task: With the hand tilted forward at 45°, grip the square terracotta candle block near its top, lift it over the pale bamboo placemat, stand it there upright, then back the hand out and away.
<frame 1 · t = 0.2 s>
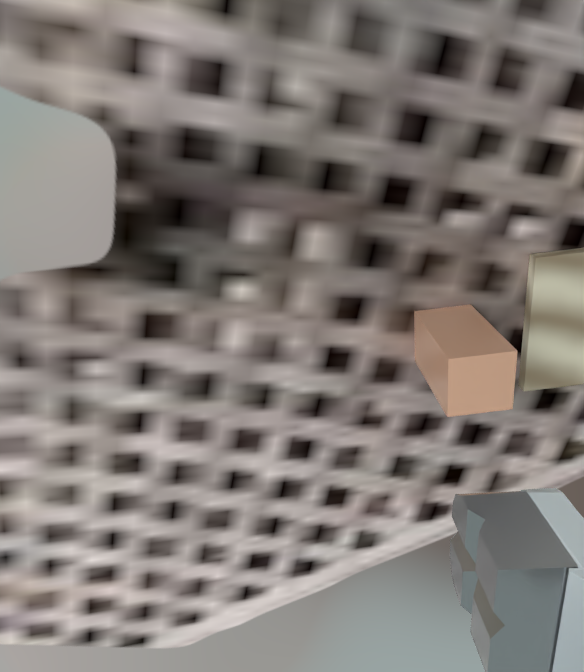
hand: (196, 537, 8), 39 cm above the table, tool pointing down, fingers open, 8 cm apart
terracotta candle block: (442, 333, 50), on the table
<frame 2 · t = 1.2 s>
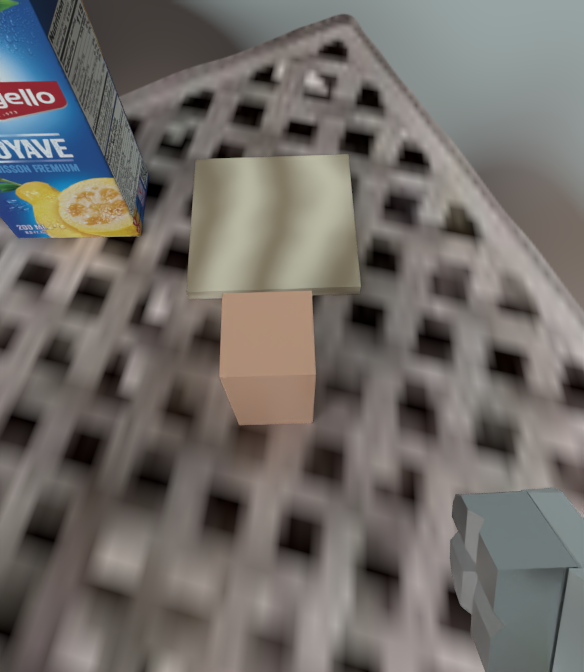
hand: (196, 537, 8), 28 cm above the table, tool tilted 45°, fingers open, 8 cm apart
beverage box: (86, 207, 47), on the table
terracotta candle block: (275, 389, 39), on the table
placemat: (273, 227, 45), on the table
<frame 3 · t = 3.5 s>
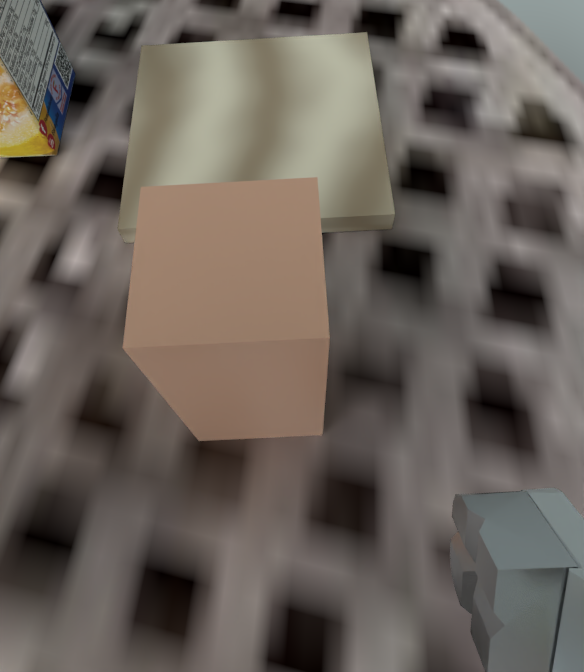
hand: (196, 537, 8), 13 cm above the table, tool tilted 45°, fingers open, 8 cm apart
terracotta candle block: (259, 379, 24), on the table
placemat: (256, 137, 30), on the table
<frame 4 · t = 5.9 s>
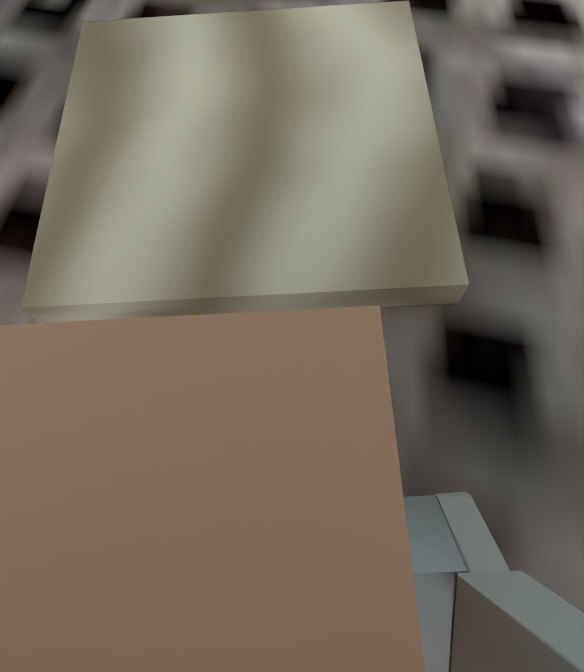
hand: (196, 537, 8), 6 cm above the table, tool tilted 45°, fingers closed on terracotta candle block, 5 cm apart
terracotta candle block: (246, 580, 14), on the table, touching gripper
placemat: (247, 155, 20), on the table
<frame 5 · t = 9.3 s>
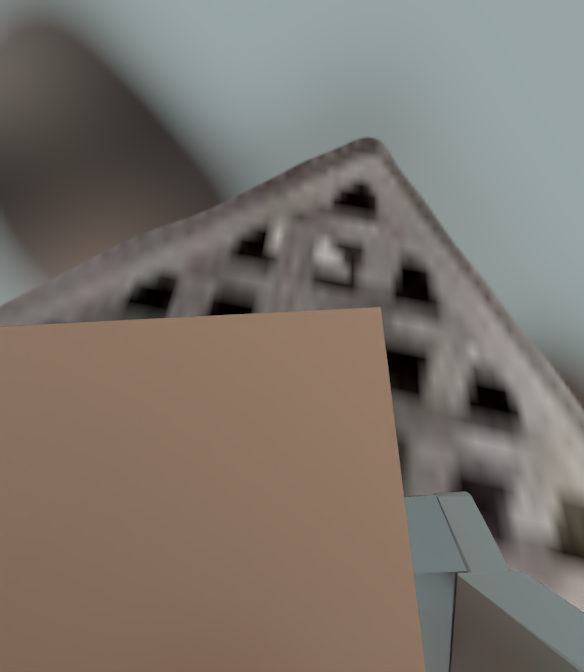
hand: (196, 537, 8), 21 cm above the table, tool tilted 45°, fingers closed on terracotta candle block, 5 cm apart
terracotta candle block: (246, 581, 14), point 14 cm above the table, touching gripper
when the fingers open (9 cm above the table, at t = 12.8 s): terracotta candle block drops 1 cm, resting on placemat.
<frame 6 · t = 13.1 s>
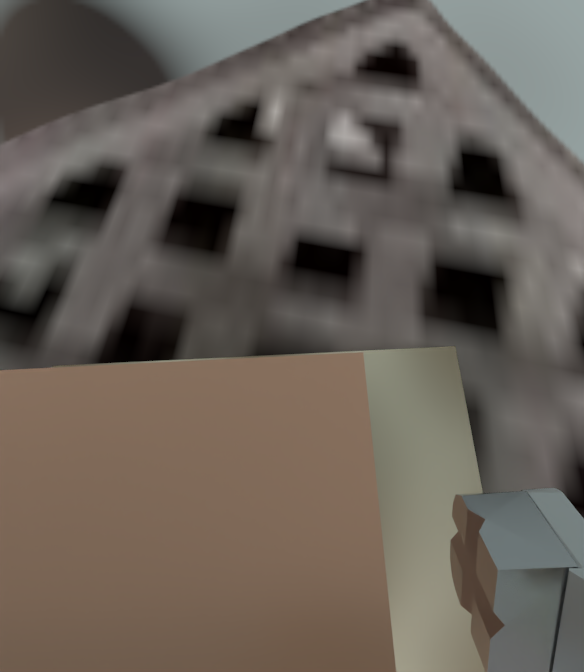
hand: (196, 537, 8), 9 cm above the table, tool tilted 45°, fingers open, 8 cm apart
terracotta candle block: (249, 581, 15), point 1 cm above the table, touching placemat
placemat: (256, 579, 16), on the table
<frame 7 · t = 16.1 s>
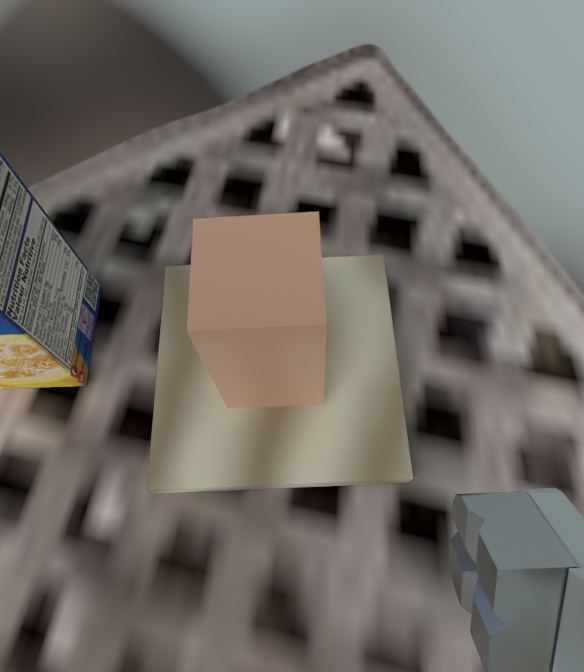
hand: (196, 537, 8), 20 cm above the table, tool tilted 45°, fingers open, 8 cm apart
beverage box: (12, 339, 33), on the table
terracotta candle block: (274, 361, 30), point 1 cm above the table, touching placemat
placemat: (277, 368, 31), on the table
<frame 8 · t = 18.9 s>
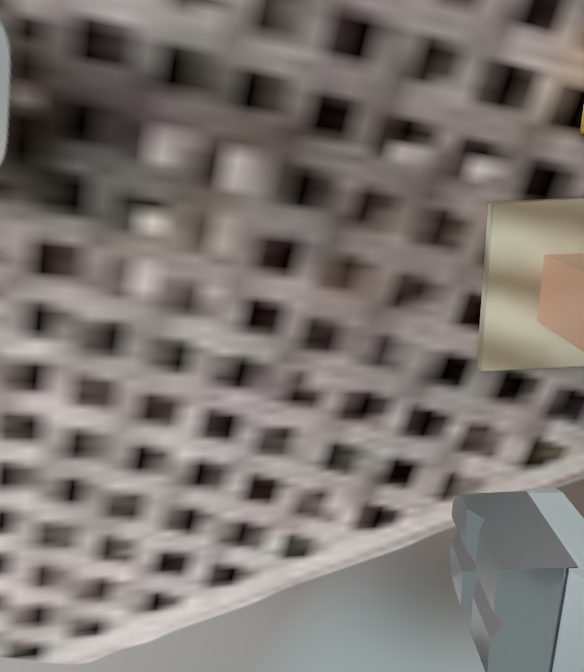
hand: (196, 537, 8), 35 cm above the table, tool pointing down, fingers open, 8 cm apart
terracotta candle block: (574, 286, 42), point 1 cm above the table, touching placemat
placemat: (566, 284, 43), on the table
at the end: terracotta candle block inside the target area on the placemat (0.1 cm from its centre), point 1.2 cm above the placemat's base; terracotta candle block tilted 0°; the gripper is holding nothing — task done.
